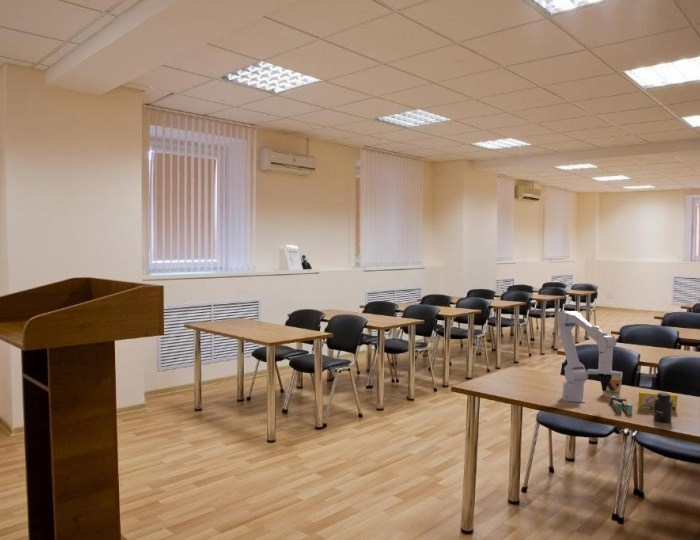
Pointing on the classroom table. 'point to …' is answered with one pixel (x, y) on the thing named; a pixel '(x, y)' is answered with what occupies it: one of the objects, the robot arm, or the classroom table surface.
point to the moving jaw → (617, 406)
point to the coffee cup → (613, 387)
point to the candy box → (653, 401)
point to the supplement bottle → (663, 408)
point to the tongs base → (626, 406)
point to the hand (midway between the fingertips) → (603, 390)
